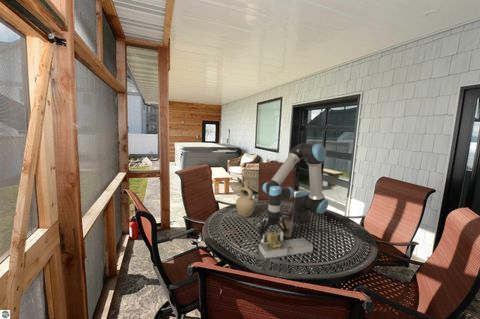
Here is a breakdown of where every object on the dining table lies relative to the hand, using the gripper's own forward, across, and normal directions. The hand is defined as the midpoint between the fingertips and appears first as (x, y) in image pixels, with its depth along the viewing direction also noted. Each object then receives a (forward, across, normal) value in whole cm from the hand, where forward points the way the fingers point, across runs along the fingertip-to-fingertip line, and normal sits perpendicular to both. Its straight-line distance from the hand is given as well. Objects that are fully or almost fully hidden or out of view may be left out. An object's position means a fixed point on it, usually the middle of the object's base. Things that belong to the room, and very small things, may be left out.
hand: (272, 242), depth 147 cm
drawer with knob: (0, +4, +11) cm, 11 cm away
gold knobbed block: (0, 0, 0) cm, 0 cm away
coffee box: (0, -14, -9) cm, 17 cm away
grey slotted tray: (0, -4, +11) cm, 12 cm away
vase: (0, +3, -47) cm, 47 cm away
